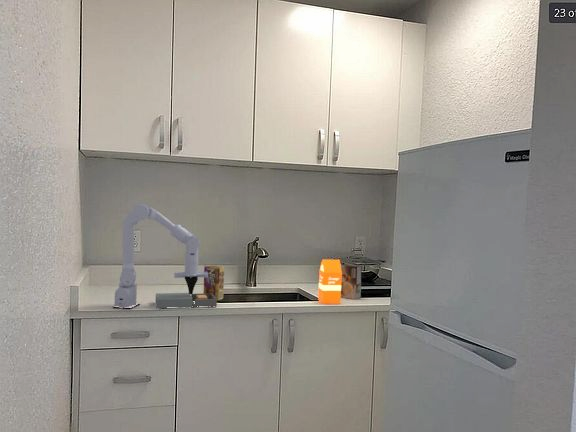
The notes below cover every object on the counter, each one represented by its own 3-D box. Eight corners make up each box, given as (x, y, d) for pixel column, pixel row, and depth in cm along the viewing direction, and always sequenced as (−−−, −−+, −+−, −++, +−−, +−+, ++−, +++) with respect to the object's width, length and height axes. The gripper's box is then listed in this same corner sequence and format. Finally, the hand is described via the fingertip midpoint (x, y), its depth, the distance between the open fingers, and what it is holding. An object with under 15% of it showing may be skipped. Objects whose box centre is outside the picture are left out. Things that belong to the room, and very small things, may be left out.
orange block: (207, 297, 223) (207, 304, 224) (205, 294, 229) (205, 301, 229) (198, 297, 222) (198, 304, 222) (196, 295, 228) (196, 301, 228)
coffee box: (361, 297, 254) (362, 265, 253) (356, 299, 248) (357, 266, 248) (344, 295, 259) (345, 263, 258) (339, 297, 253) (340, 264, 252)
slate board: (157, 309, 213) (157, 299, 213) (155, 302, 226) (155, 293, 226) (192, 308, 218) (192, 298, 218) (188, 301, 230) (188, 292, 230)
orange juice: (318, 299, 244) (319, 258, 243) (335, 299, 246) (337, 258, 245) (322, 303, 237) (324, 260, 236) (340, 303, 238) (342, 260, 238)
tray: (192, 307, 218) (193, 299, 218) (189, 301, 230) (189, 293, 230) (216, 307, 221) (216, 299, 221) (211, 300, 233) (212, 293, 233)
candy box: (223, 299, 238) (224, 266, 237) (218, 300, 234) (219, 267, 233) (208, 296, 242) (209, 264, 241) (202, 298, 238) (203, 265, 238)
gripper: (175, 264, 217) (174, 296, 218) (209, 264, 221) (208, 295, 222) (174, 262, 224) (173, 292, 224) (207, 261, 228) (206, 292, 229)
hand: (190, 293), depth 224 cm, fingers closed
